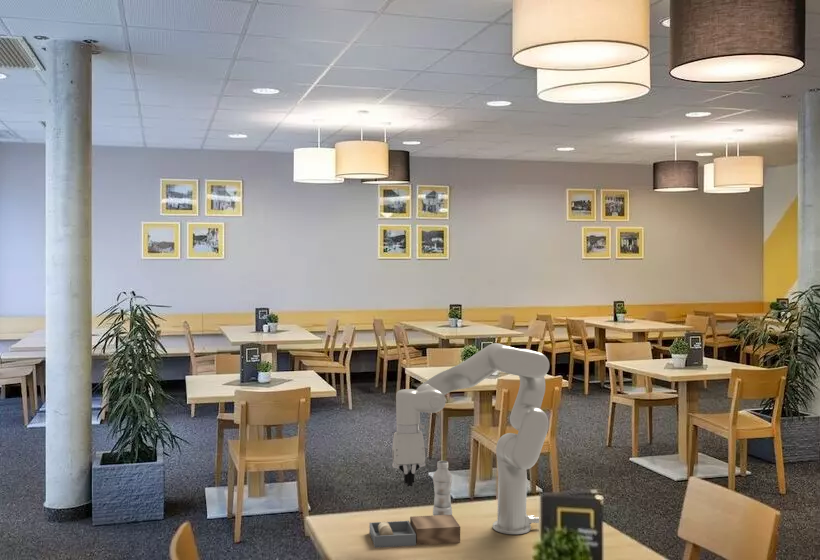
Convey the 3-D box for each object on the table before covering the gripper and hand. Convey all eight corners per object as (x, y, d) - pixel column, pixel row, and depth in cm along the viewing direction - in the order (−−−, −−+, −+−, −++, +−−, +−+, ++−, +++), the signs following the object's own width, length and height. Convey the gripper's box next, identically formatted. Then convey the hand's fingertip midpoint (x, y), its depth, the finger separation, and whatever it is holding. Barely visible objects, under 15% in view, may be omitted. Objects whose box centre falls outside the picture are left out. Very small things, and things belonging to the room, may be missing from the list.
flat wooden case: (451, 529, 271) (451, 514, 271) (460, 542, 259) (460, 526, 259) (410, 531, 269) (410, 516, 268) (416, 544, 257) (416, 528, 257)
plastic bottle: (450, 523, 277) (451, 465, 276) (430, 522, 278) (431, 463, 277) (453, 517, 283) (454, 460, 282) (434, 516, 285) (434, 459, 284)
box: (408, 531, 269) (408, 520, 269) (415, 545, 256) (416, 534, 256) (369, 533, 267) (369, 522, 267) (374, 547, 254) (374, 536, 254)
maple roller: (384, 519, 265) (375, 527, 264) (388, 527, 257) (378, 535, 257) (392, 527, 265) (383, 536, 265) (396, 536, 258) (386, 545, 257)
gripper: (429, 424, 266) (429, 480, 267) (383, 427, 263) (384, 483, 264) (433, 429, 259) (434, 487, 259) (386, 432, 256) (387, 490, 257)
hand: (409, 485), depth 262 cm, fingers closed
